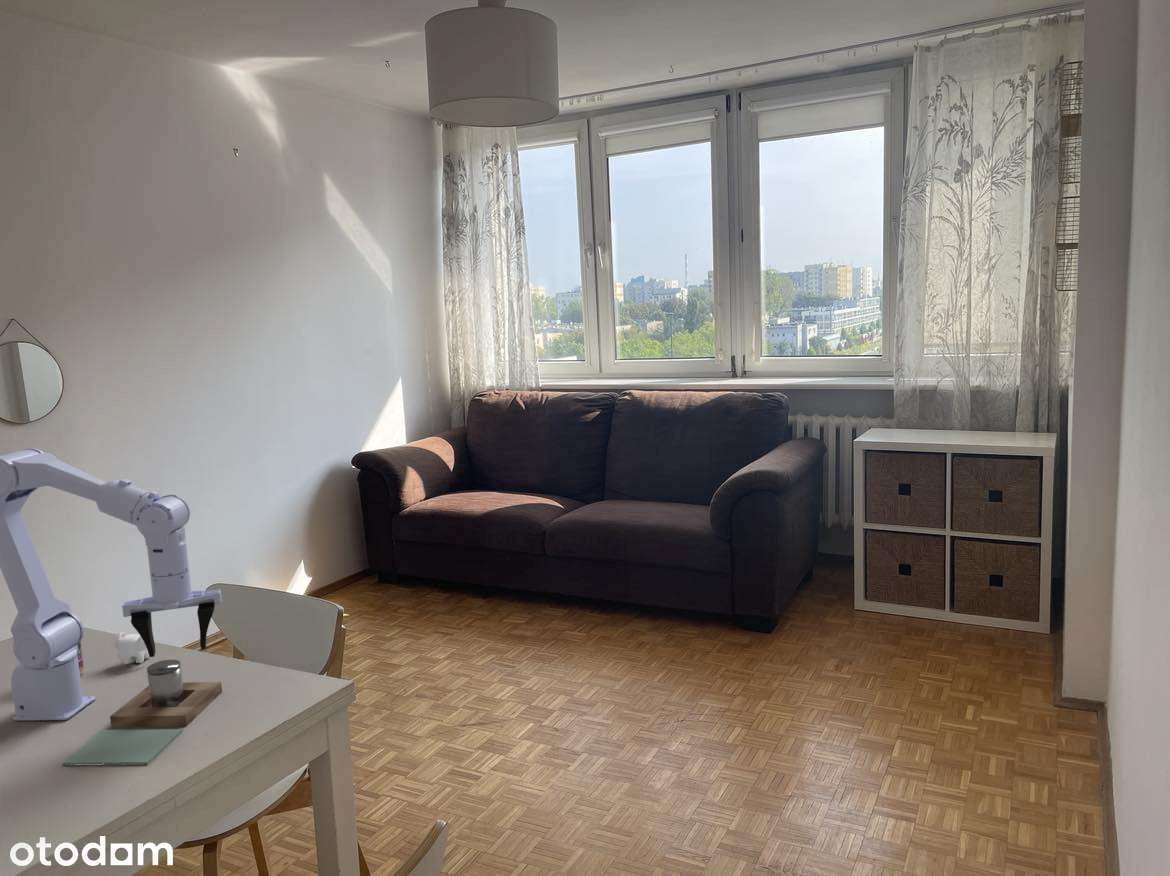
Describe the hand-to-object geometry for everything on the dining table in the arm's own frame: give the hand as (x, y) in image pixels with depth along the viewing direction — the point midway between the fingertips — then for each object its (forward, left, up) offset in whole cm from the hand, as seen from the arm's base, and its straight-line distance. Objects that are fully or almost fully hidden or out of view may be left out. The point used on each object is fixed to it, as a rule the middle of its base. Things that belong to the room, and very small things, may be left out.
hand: (178, 650), depth 146 cm
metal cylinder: (-3, 0, -10) cm, 11 cm away
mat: (-3, -13, -10) cm, 17 cm away
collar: (-3, 0, -10) cm, 10 cm away
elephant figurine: (-20, +20, -10) cm, 30 cm away
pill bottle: (-30, +14, -10) cm, 34 cm away
